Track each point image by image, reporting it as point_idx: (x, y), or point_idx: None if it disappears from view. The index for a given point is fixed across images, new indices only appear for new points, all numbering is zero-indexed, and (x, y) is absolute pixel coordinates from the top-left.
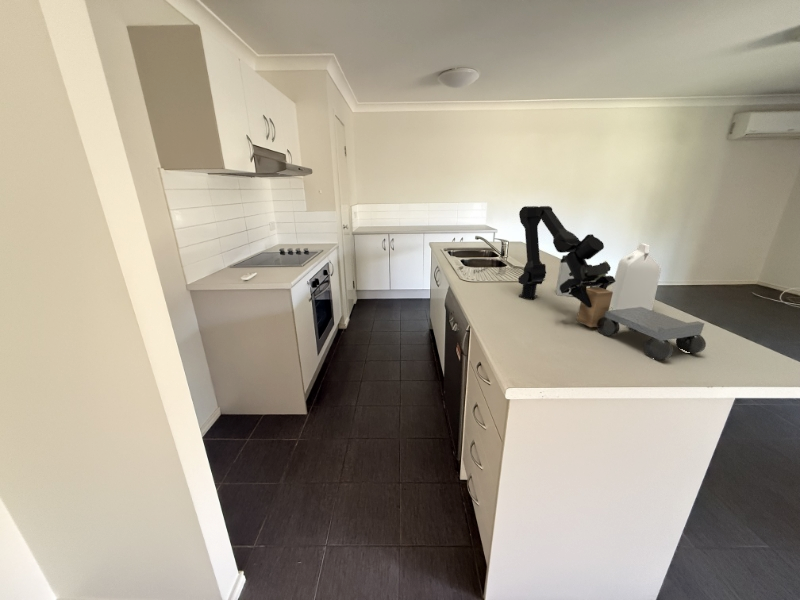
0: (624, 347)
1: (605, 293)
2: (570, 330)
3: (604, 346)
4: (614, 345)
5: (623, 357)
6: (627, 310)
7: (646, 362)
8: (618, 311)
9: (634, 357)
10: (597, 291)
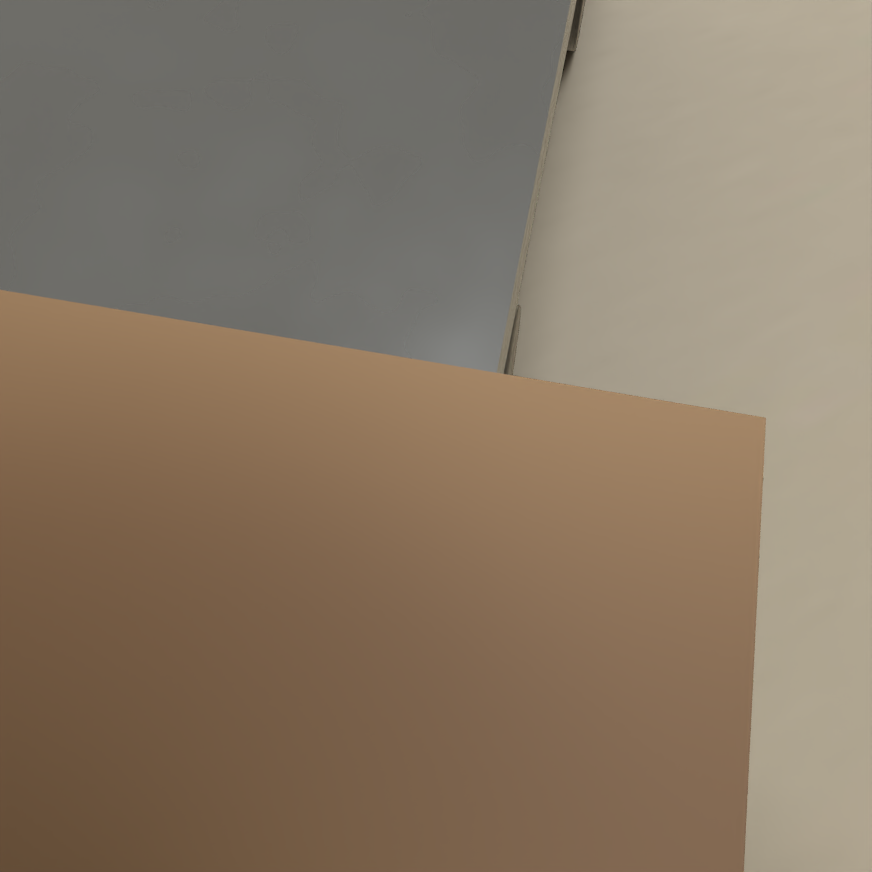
0: (591, 217)
1: (249, 360)
2: (820, 840)
3: (784, 310)
4: (648, 280)
5: (812, 119)
6: (43, 225)
7: (696, 14)
8: (263, 268)
9: (708, 85)
10: (465, 676)
